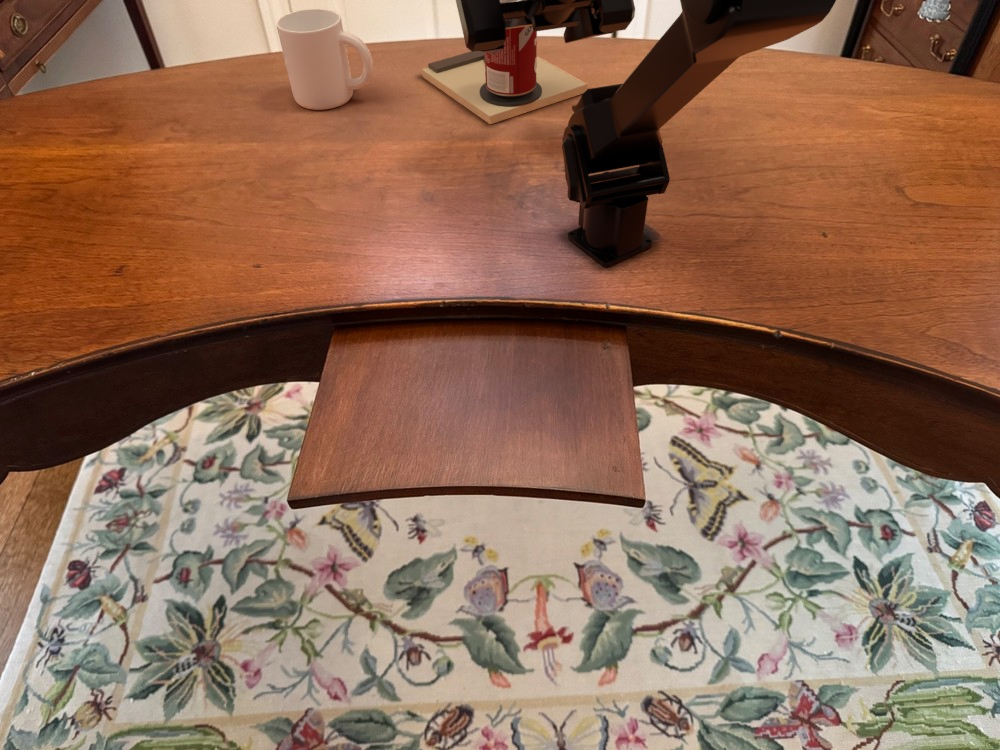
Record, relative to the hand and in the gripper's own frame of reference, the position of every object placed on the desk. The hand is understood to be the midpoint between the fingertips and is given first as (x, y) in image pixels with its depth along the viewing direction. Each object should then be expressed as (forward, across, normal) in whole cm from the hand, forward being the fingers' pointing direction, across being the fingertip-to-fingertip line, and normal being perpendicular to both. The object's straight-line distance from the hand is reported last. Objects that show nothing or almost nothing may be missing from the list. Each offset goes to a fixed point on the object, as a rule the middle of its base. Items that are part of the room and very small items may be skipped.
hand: (529, 44), depth 84 cm
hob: (+17, 0, -2) cm, 17 cm away
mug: (+19, +22, -4) cm, 30 cm away
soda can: (+12, 0, +1) cm, 12 cm away
